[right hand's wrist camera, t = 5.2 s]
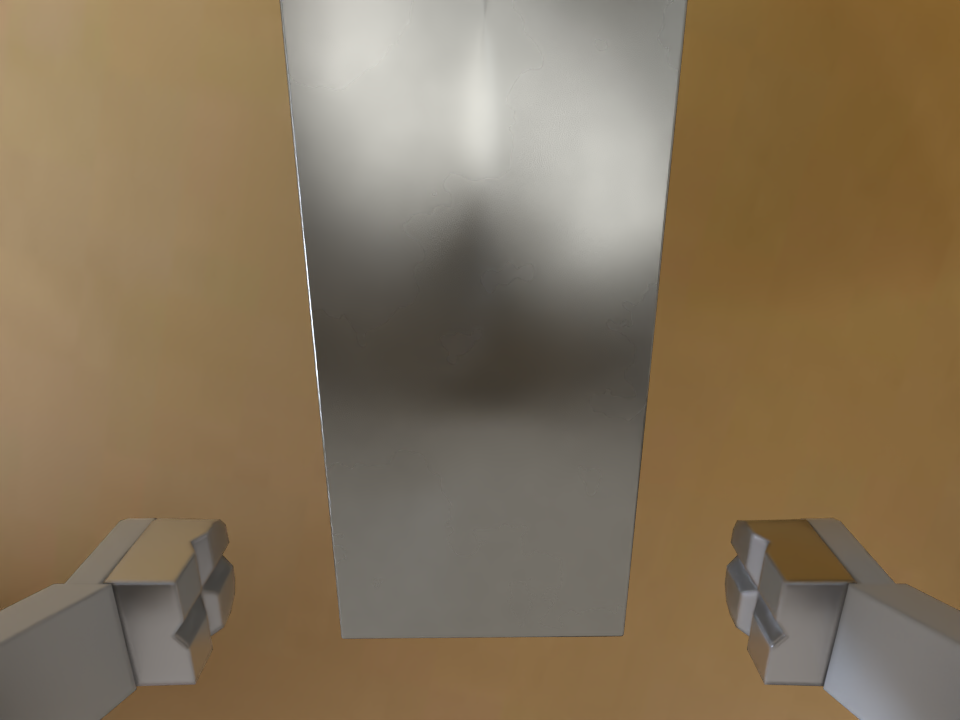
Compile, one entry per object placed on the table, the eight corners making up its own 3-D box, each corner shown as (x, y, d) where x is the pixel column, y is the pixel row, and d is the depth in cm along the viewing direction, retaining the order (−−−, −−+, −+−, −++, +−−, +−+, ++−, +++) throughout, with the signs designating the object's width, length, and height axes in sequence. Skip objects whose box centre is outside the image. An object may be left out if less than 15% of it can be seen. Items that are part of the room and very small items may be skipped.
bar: (568, 441, 21) (624, 637, 13) (389, 442, 21) (341, 639, 13) (623, -566, 13) (844, -1543, 5) (332, -569, 13) (126, -1566, 5)
